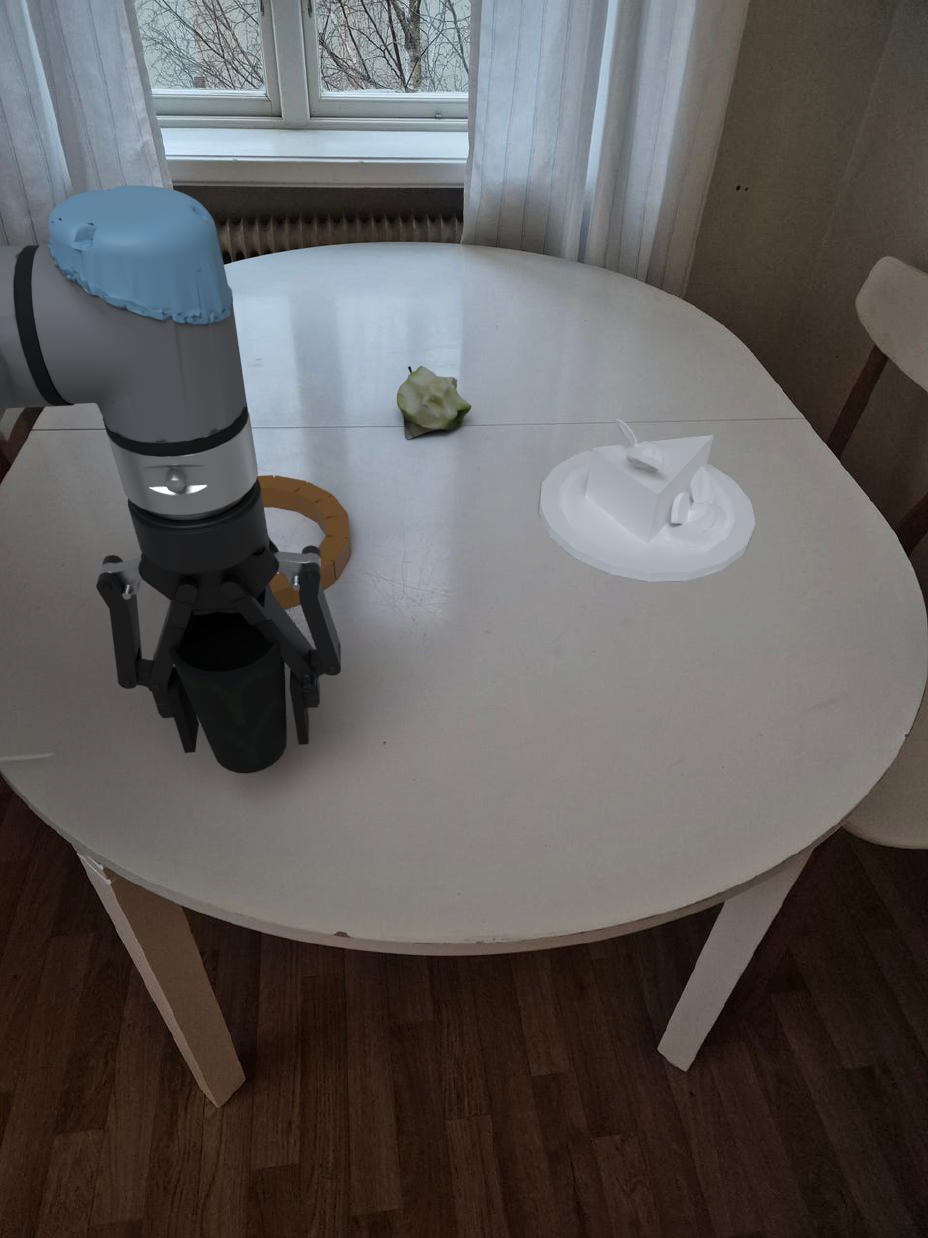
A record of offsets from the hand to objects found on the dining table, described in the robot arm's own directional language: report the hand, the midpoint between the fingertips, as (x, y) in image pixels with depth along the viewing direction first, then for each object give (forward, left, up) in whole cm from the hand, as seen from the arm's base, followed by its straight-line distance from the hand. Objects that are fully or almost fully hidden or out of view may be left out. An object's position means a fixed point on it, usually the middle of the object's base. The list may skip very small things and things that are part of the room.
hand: (248, 734), depth 65 cm
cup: (0, 0, -1) cm, 1 cm away
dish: (+42, +36, -9) cm, 56 cm away
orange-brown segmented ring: (-3, +33, -9) cm, 34 cm away
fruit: (+19, +58, -9) cm, 62 cm away
